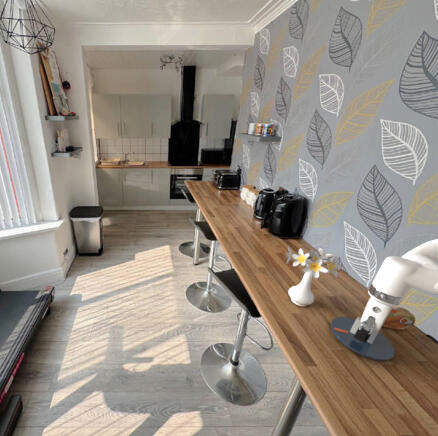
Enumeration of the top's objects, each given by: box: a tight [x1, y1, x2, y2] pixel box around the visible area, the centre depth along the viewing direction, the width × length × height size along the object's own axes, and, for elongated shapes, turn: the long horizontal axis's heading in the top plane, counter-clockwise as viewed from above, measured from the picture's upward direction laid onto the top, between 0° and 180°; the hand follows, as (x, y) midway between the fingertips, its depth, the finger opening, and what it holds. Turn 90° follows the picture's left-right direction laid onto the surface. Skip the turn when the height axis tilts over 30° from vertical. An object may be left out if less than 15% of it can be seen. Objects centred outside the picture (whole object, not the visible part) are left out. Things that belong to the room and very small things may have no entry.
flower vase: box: [285, 245, 343, 308], centre depth 94 cm, size 13×18×25 cm
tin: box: [381, 306, 416, 331], centre depth 88 cm, size 15×3×8 cm, turn 76°
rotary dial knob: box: [330, 316, 395, 362], centre depth 80 cm, size 17×17×7 cm
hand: (362, 333), depth 81 cm, fingers open, 6 cm apart
